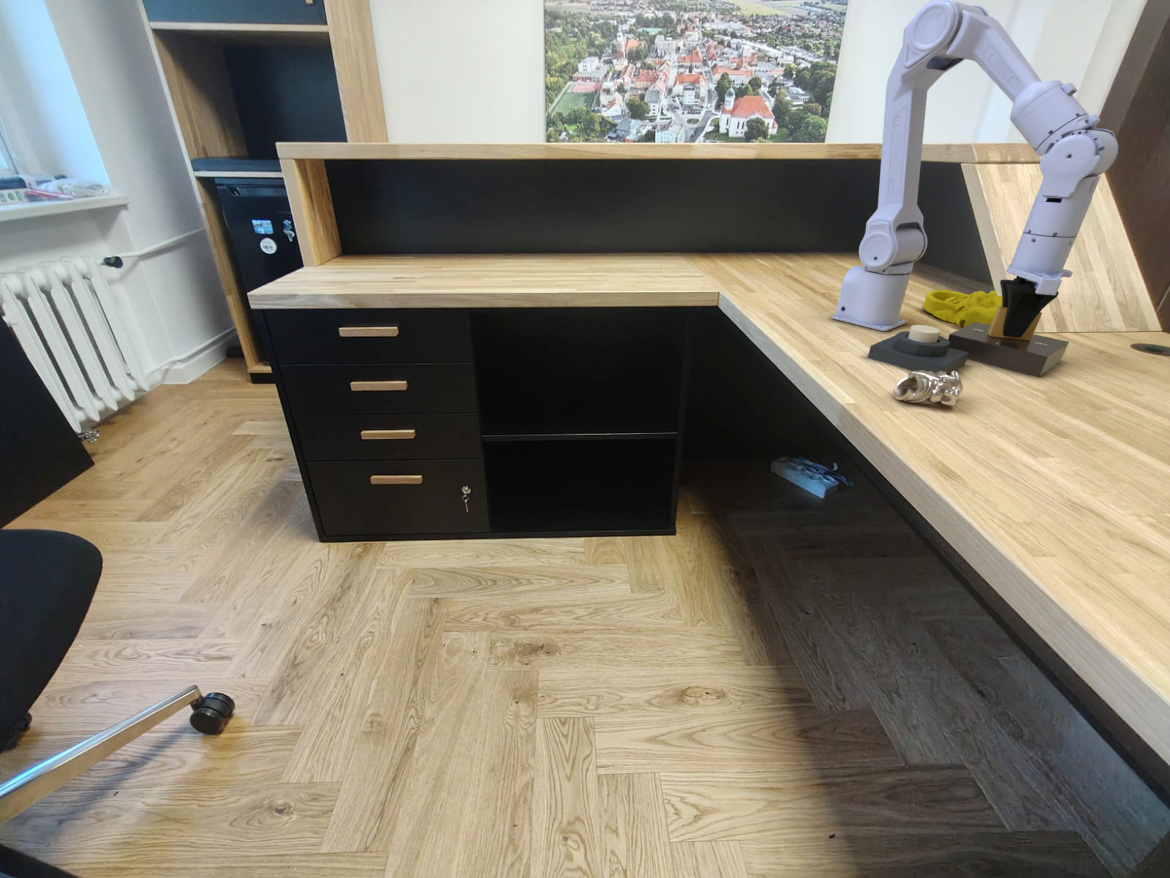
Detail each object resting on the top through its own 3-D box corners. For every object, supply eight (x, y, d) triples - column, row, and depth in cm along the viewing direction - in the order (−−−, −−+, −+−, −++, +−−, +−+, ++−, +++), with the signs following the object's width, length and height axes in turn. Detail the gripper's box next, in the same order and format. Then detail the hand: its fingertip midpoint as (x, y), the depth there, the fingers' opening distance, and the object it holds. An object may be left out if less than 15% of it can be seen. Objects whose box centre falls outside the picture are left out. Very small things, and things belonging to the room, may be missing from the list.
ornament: (921, 417, 63) (931, 387, 61) (880, 392, 69) (888, 365, 67) (979, 410, 65) (990, 381, 63) (934, 387, 71) (943, 360, 69)
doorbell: (867, 358, 80) (873, 334, 78) (892, 346, 85) (899, 324, 83) (941, 379, 73) (949, 353, 72) (964, 365, 78) (973, 341, 76)
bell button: (902, 340, 78) (906, 328, 77) (914, 335, 80) (917, 323, 79) (929, 346, 75) (934, 334, 74) (940, 341, 77) (944, 329, 76)
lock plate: (942, 353, 82) (949, 332, 81) (968, 340, 88) (975, 320, 86) (1038, 377, 74) (1048, 355, 73) (1060, 361, 80) (1069, 340, 78)
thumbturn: (989, 336, 80) (1000, 307, 78) (987, 333, 81) (998, 304, 79) (1030, 341, 78) (1043, 311, 76) (1027, 338, 79) (1039, 308, 77)
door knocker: (908, 304, 107) (914, 282, 105) (991, 304, 107) (999, 282, 105) (957, 330, 93) (965, 305, 91) (1053, 331, 92) (1064, 306, 90)
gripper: (1108, 244, 66) (1060, 354, 72) (1067, 228, 77) (1028, 323, 84) (1037, 240, 68) (996, 346, 74) (1007, 225, 80) (974, 318, 86)
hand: (1009, 334), depth 79 cm, fingers closed on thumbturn
